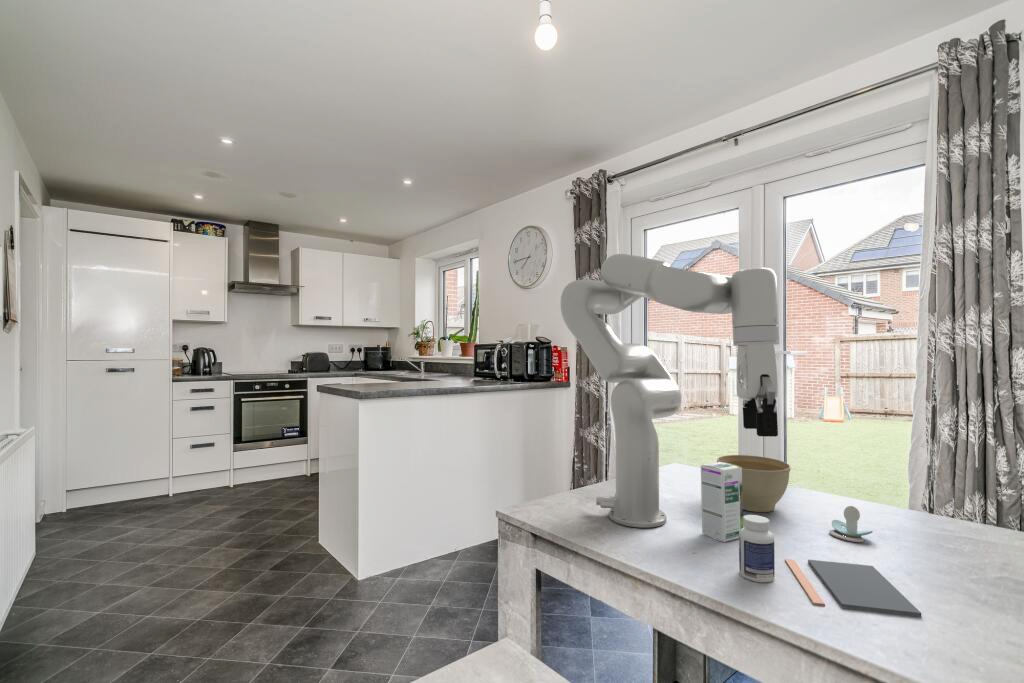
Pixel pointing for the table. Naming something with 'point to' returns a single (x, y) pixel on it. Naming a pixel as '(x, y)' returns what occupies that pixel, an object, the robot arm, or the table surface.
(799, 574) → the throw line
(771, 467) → the planter bowl
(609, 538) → the table surface
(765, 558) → the pill bottle
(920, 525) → the table surface
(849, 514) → the pacifier
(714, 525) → the syrup box
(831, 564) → the mat
